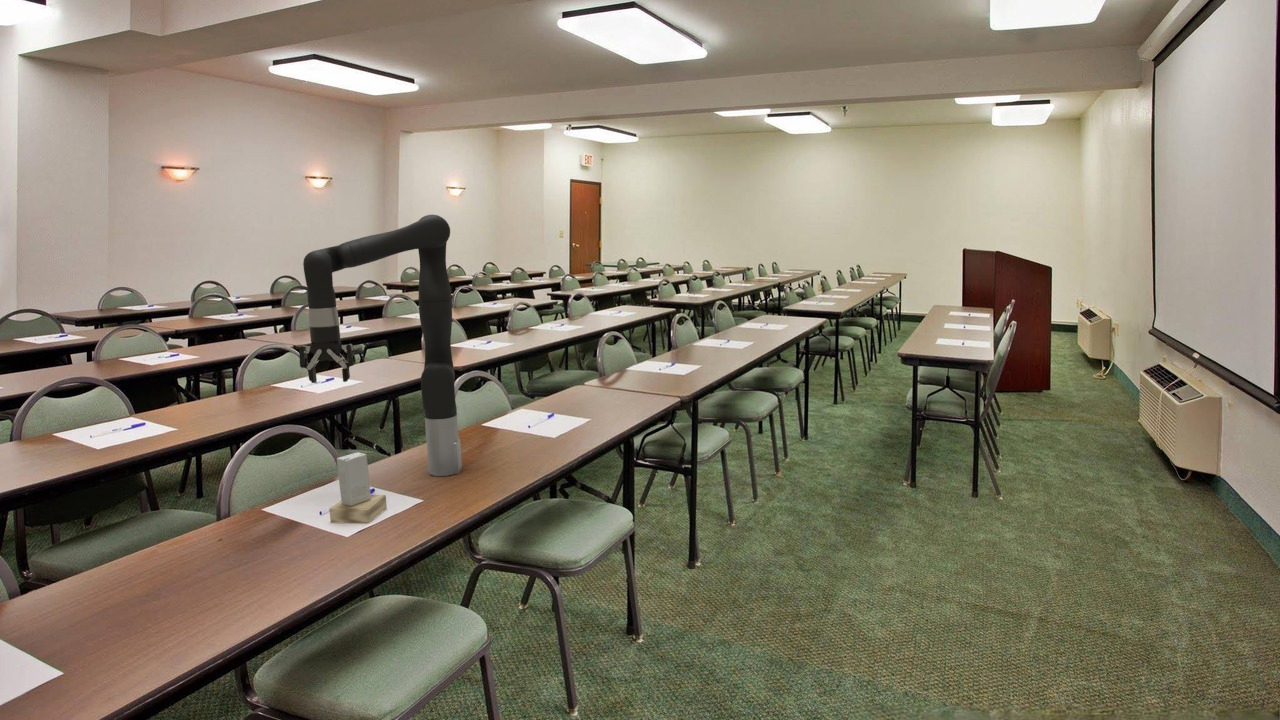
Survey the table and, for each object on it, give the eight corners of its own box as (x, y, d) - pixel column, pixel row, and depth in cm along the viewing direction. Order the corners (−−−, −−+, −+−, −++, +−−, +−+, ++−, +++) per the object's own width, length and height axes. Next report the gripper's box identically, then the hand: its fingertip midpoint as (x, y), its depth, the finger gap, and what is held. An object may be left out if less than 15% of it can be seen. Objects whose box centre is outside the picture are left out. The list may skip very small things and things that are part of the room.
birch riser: (387, 509, 191) (385, 494, 190) (369, 524, 181) (367, 508, 180) (350, 508, 192) (348, 493, 191) (330, 524, 182) (329, 508, 181)
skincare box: (361, 496, 189) (357, 451, 187) (372, 499, 186) (367, 453, 184) (340, 503, 184) (335, 457, 182) (350, 507, 181) (345, 460, 179)
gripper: (355, 321, 205) (360, 378, 207) (302, 323, 203) (308, 380, 206) (346, 325, 197) (352, 383, 200) (292, 326, 196) (298, 385, 199)
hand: (329, 381), depth 203 cm, fingers open, 8 cm apart
